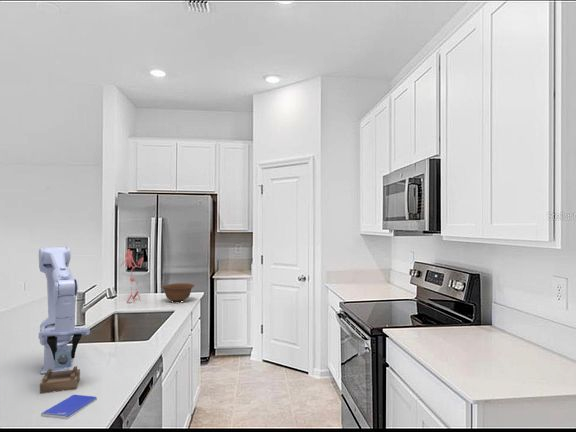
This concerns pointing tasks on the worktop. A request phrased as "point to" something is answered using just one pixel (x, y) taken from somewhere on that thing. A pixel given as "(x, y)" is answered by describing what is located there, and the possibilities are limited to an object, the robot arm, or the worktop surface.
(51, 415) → the hard drive
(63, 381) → the stand
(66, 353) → the housing
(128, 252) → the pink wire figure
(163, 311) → the worktop surface
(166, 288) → the bowl
